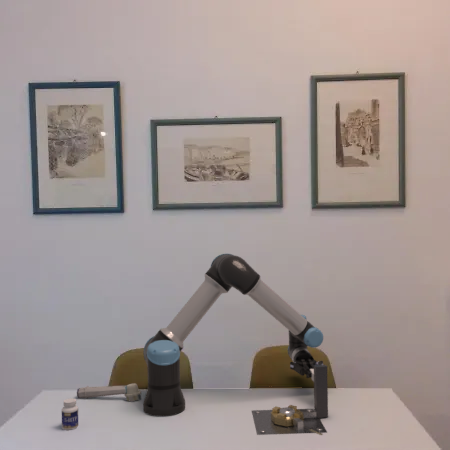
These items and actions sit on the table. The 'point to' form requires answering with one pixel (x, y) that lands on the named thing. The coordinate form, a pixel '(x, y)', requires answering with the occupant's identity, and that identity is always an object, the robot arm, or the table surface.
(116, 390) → the grey elongated piece
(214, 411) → the table surface
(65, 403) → the pill bottle
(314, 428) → the flange
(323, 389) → the grey and tan piece
